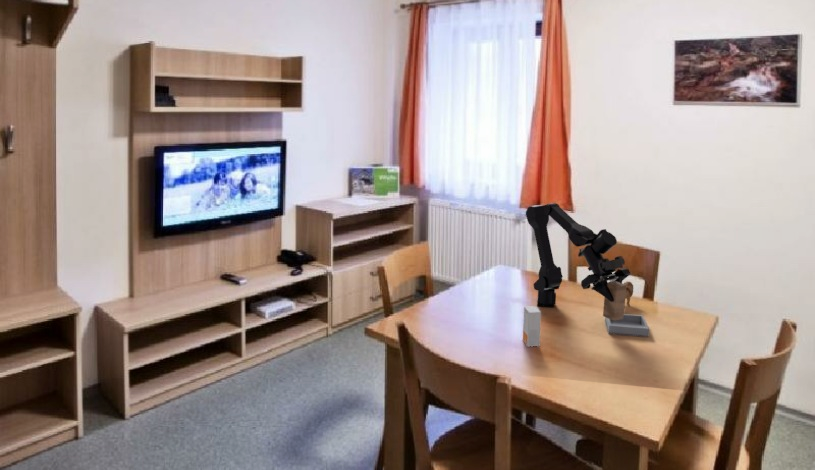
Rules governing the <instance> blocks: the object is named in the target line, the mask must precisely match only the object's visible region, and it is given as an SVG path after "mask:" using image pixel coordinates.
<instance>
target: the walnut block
mask: <svg viewBox="0 0 815 470" xmlns="http://www.w3.org/2000/svg"><path fill="white" fill-rule="evenodd" d="M607 286H608V288H609V290H610V292H611V294H612V296H613V299H614V301H613V302H611V301H610V300H608V299H607V298H605V297H604V300H603V311H602V312H603V313H602V317H604V318H605V317H606V318H609V319H611V320H614V321H615V320H619V319H623V317H624V314H625V303H626V299H625V296H626V285H625V284H624V283H623V282H622V283H620V282H617V281H612V282H610V281H607Z"/></svg>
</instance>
